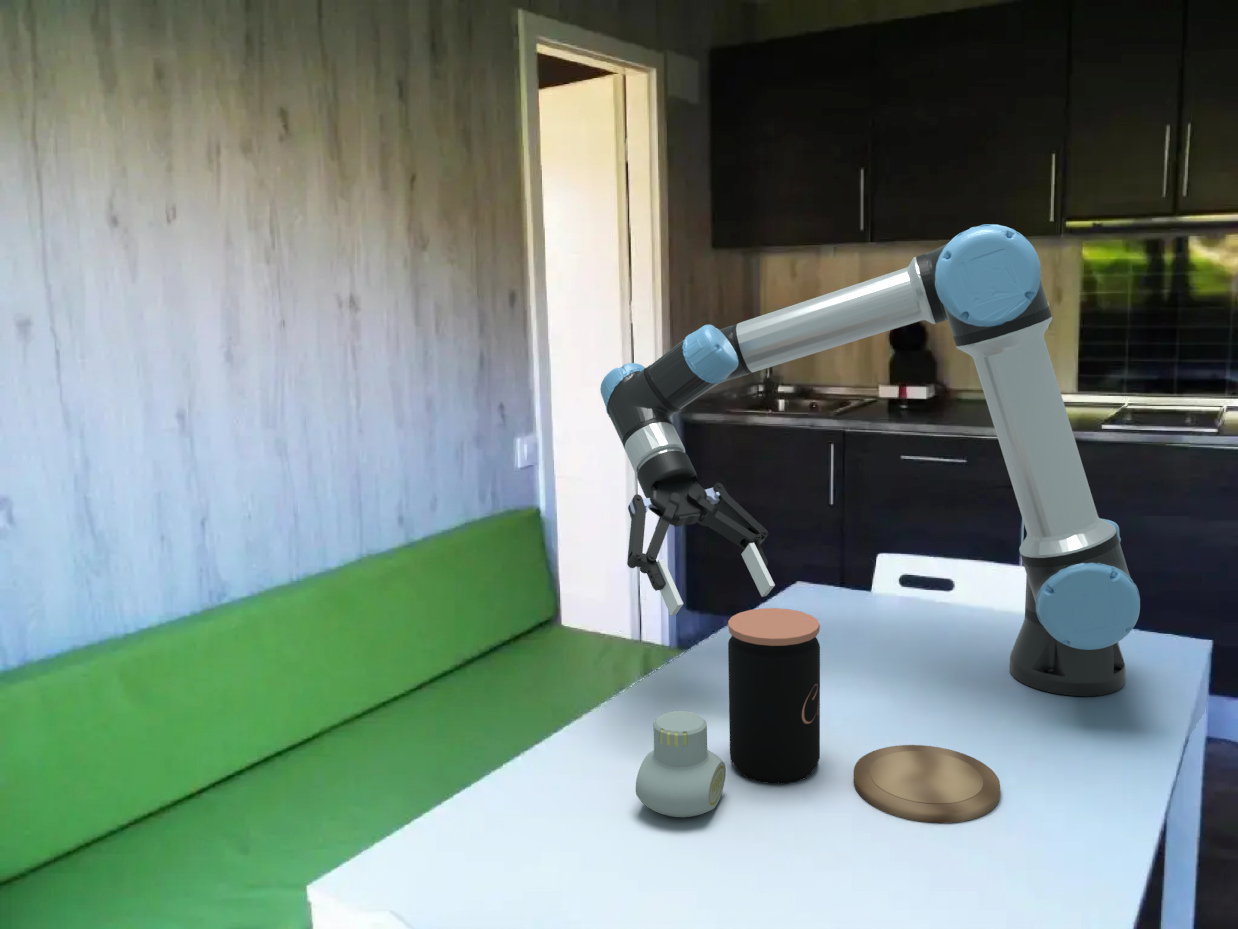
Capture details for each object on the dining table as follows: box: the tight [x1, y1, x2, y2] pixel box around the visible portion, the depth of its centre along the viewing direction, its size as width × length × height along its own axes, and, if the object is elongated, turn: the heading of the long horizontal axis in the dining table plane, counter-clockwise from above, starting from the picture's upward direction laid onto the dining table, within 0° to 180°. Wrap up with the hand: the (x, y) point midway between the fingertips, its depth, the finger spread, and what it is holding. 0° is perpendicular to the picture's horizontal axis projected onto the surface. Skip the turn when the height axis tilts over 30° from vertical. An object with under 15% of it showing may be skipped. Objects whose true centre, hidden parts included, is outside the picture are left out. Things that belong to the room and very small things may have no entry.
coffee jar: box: [727, 607, 821, 785], centre depth 125 cm, size 11×11×18 cm
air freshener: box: [635, 710, 727, 818], centre depth 117 cm, size 11×8×10 cm
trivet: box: [853, 744, 1001, 824], centre depth 120 cm, size 16×16×1 cm
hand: (723, 600), depth 132 cm, fingers open, 13 cm apart
